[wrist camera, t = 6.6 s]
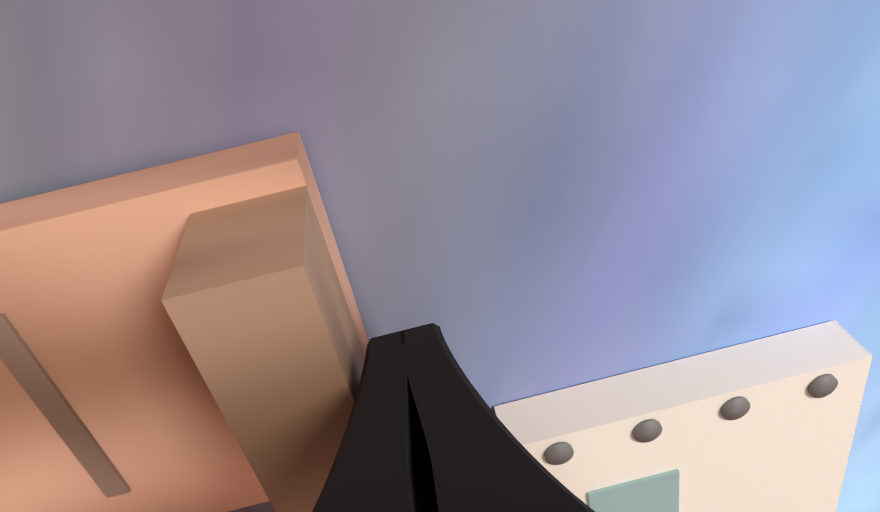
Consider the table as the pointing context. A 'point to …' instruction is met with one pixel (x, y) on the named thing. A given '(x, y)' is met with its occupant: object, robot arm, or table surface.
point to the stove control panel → (707, 428)
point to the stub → (176, 339)
